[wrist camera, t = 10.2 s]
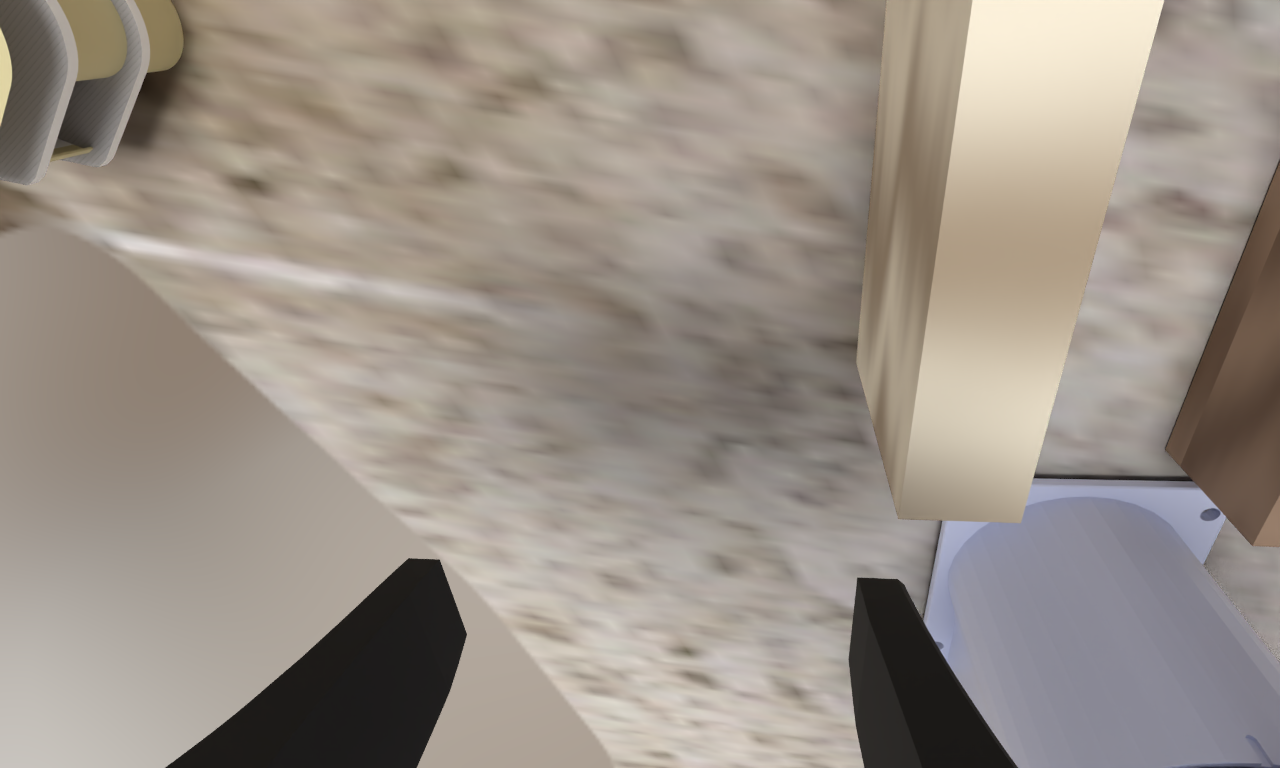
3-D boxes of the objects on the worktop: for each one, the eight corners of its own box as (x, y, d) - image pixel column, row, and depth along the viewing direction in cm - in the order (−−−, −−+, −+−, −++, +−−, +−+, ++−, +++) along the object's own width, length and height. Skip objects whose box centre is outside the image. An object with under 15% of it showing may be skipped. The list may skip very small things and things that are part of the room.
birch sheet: (939, 360, 19) (1020, 523, 13) (855, 361, 19) (898, 519, 14) (1020, -153, 13) (1240, -280, 7) (897, -134, 13) (1006, -238, 8)
